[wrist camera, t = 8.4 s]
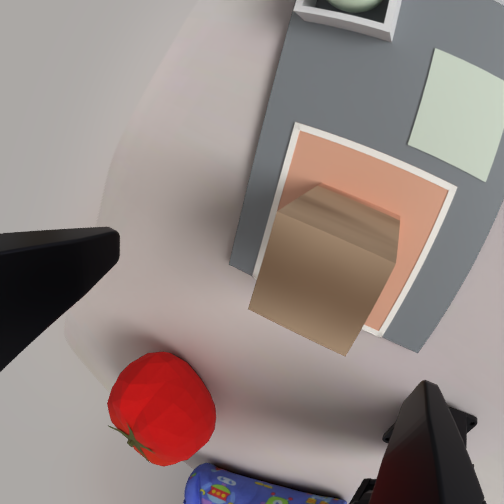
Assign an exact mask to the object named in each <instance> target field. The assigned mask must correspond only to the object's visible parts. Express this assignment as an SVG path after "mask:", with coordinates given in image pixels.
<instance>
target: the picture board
mask: <svg viewBox="0 0 504 504" xmlns="http://www.w3.org/2000/svg"><path fill="white" fill-rule="evenodd" d="M320 183H324V184H326V185H329V186H331V187H334V188H336V189H339V190H341V191H344V192H346V193H349V194H351V195H353V196H356V197H358V198H361V199H363V200H365V201H368V202H370V203H372V204H375V205H377V206H379V207H381V208H384V209H386V210H388V211H390V212H393V213H395V214H397V215H399V216H401V217H400V229H399V240H398V250H397V259H396V265H395V267H394V269H393V271H392V273H391V275H390V277H389V279H388V281H387V283H386V285H385V286H384V288H383V290H382V292H381V294H380V296H379V298H378V300H377V302H376V304H375V305H374V307H373V309H372V311H371V313H370V315H369V316H368V318H367V320H366V322H365V324H364V325H363V327H362V330H365V331H367V332H369V333H371V334H373V335H375V336H378V337H380V338H382V337H383V338H385V339H387V340H389V341H392V342H394V343H396V344H398V345H400V346H403V347H405V348H407V349H409V350H412V351H414V352H416V353H418V352H419V351H420V350H421V348H422V347H423V345H424V344H425V342H426V341H427V340H428V338H429V337H430V335H431V334H432V332H433V331H434V329H435V328H436V326H437V325H438V323H439V322H440V320H441V318H442V317H443V315H444V314H445V312H446V311H447V309H448V307H449V306H450V304H451V302H452V301H453V299H454V297H455V296H456V294H457V292H458V291H459V289H460V287H461V285H462V284H463V282H464V280H465V278H466V277H467V275H468V273H469V271H470V269H471V267H472V266H473V264H474V262H475V260H476V258H477V256H478V254H479V252H480V250H481V248H482V246H483V244H484V242H485V240H486V238H487V236H488V234H489V232H490V229H491V227H492V225H493V223H494V221H495V218H496V216H497V214H498V211H499V209H500V207H501V204H502V202H503V199H504V6H503V5H501V4H500V3H498V2H496V1H494V0H382V2H381V3H380V4H379V5H378V6H376V7H375V8H373V9H371V10H369V11H366V12H360V13H351V12H346V11H342V10H340V9H337V8H336V7H334V6H332V5H331V4H330V3H329V2H328V1H327V0H296V1H295V5H294V8H293V12H292V16H291V19H290V23H289V27H288V30H287V34H286V38H285V41H284V45H283V49H282V53H281V56H280V60H279V64H278V68H277V72H276V75H275V79H274V83H273V87H272V91H271V95H270V99H269V102H268V106H267V110H266V114H265V118H264V122H263V126H262V130H261V134H260V138H259V142H258V146H257V150H256V154H255V158H254V162H253V166H252V170H251V174H250V178H249V182H248V186H247V191H246V195H245V199H244V203H243V207H242V211H241V215H240V220H239V224H238V228H237V232H236V237H235V241H234V245H233V249H232V254H231V258H230V262H229V265H231V266H233V267H235V268H237V269H239V270H241V271H243V272H245V273H247V274H249V275H251V276H252V277H253V278H255V279H257V278H258V274H259V271H260V267H261V264H262V261H263V257H264V254H265V250H266V247H267V244H268V240H269V237H270V233H271V230H272V226H273V223H274V219H275V216H276V213H277V211H278V210H280V209H281V208H283V207H284V206H286V205H288V204H289V203H291V202H292V201H294V200H295V199H297V198H298V197H300V196H302V195H303V194H305V193H306V192H308V191H309V190H311V189H313V188H314V187H316V186H317V185H319V184H320Z"/></svg>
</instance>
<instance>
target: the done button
mask: <svg viewBox="0 0 504 504" xmlns="http://www.w3.org/2000/svg"><path fill="white" fill-rule="evenodd" d="M327 1H328V2H329V3H330V4H331V5H332V6H334V7H336V8H337V9H340V10H342V11H346V12H351V13H360V12H366V11H369V10H371V9H373V8H375V7H376V6H378V5H379V4H380V3H381V2H382V0H327Z"/></svg>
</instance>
